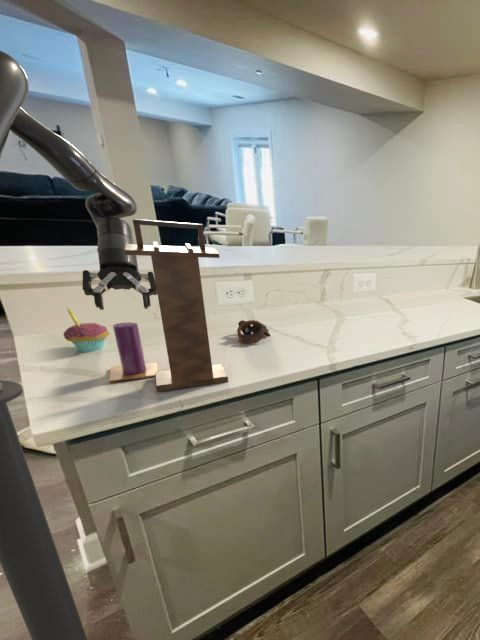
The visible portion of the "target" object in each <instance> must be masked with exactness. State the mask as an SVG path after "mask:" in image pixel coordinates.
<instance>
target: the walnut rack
mask: <svg viewBox="0 0 480 640" xmlns="http://www.w3.org/2000/svg"><path fill="white" fill-rule="evenodd" d="M132 224H133V229H134V235H135V241H136V244H135V243H134V244H125V249H124V251H125V255H136V256H144V257H145V256H146V257H147V256H149V257H150V258H151V264H152V269H153V270H152V271H153V274H154V278H155V282H156V288H157V297H158V298H157V299H158V304H159V305H158V306H159V311H160V312H159V313H160V318H161V322H162V328H163V334H164V339H165V347H166V352H167V358H168V364H169V369H166V370H158V371H157V372H155V377H154V378H155V386H156V391H157V392H163V391H171V390H179V389H184V388H185V389H186V388H193V387H201V386H208V385H214V384H223V383H228V382H229V376H228V374H227V372H226V370H225V367H224V365H223V363H220V364H213V363H212V355H211V347H210V339H209V331H208V323H207V316H206V308H205V301H204V300H205V299H204V293H203V285H202V276H201V270H200V261H199V258H206V259H207V258H209V259H210V258H212V259H220V258H221V257H220V253H219V252H218V251H217V249H215V248H214V247H206V241H205V233H204V225H203V223H193V222H192V223H191V222H178V221H166V220H164V221H163V220H151V219H139V218H138V219H137V218H132ZM141 226H150V227H151V226H154V227H164V228H165V227H166V228H180V229H195V230H197V234H198V235H197V236H198V237H197V238H198V245H199V247H198V246H191V244H190V243H187V242H185V243H184V245H185V246H180V245H179V246H178V245H177V246H176V245H159V243H158V241H152V244H144V241H143V235H142V229H141Z"/></svg>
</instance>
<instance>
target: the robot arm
mask: <svg viewBox="0 0 480 640" xmlns="http://www.w3.org/2000/svg"><path fill="white" fill-rule="evenodd" d="M29 89H30V84H29V79H28V76H27V74H26V72H25V69H23V67H22V66H21V64H20V63H19V61H17V60H16V59H15V58H14V57H12V56H11V55H10V54H9V53H6V52H5V51H3V50H0V158H1V157H2V154H3V151H4V149H5V146H6V143H7V140H8V137H9V135H10V132H12V133H13V134H14V135H16V136H17V138H19V139H20V140H22V141H23V142H24V143H26V144H27V145H28V146H29V147H30V148H31V149H33V151H35V152H36V153H37V154H38V155H40V156H41V157H42V158H43V159H44V160H45V161H46V162H47V163H48V164H49V165H51V167H52V168H53V169H54V170H55V171H56V172H58V174H60V176H62V177H63V179H64V180H65V181H67V182H68V183H69V184H70V185H71V186H72V187H73V188H74V189H76V190H78V191H80V192H81V191H82V192H95V193H93V194H90V195H89V196H87V198H86V199H85V208H86V210H87V212H88V213H89V215H90V216H91V219H92V221H93V222H94V225H95V227H96V233H97V250H96V251H97V255H98V262H99V263H98V265H99V271H98V272H90V271H89V270H88V269H85V270H83V271H82V290H83V293H84V295H85V296H92V297H93V299H94V306H95V307H96V308H97V309H98V308H99V311H103V310H105V306H104V297H103V296H104V294H106V293H108V292H109V291H110V290H111V289H113V290H131V289H133V290H134V291H135V292H137V293H139V294H141V296H142V303H143V308H144V310H145V309H147V310H148V309H149V307H151V305H152V303H151V296H158V294H157V288H156V282H155V276H154V271H148V272H147V273H141V272H140V271H139V265H138V257H137V255H125V251H124V249H125V244H135V243H134V238H133V237H134V236H133V231H132V228H131V225H130V224H129V222H127V221H125V220H124V219H123V218H127V217H132V216H134V215H135V214H136V213H137V212H138V206H137V203H136V201H135V199H134V198H133V197H132V196H131V195H130V194H129V192H127V191H126V190H125V189H123V188H122V187H121V186H119V185H118V184H116V183H115V182H113V181H112V180H111V179H110V178H108V177H106V176H105V175H104V174H102V173H101V172H100V171H99V170H98V169H97V168H96V167H95V166H94V164H92V163H91V162H90V160H89V159H88V158H87V157H86V156H85V155H84V154H83V153H82V152H81V151H80V150H78V149H77V148H76V147H75V146H74V145H73V144H71V143H70V142H69V141H68V140H66V139H64V138H63V137H62V136H61V135H59V134H57V133H55V132H54V131H52V130H51V129H49V128H48V127H47V126H45V125H43V123H41V122H39V121H38V120H37V119H35V118H34V117H33V116H31V115H30V114H29V113H27V112H26V111H25V110H24V109H23V108H22V107H23V105H24V103H25V101H26V100H27V97H28V95H29V91H30V90H29ZM96 192H97V193H96ZM96 279H99V280H100V282H99V283H98V285H96V286H95V287H93V288H92V282H93V283H94V282H95V281H96ZM142 279H143V280H144V281H145V282H147V283H148V284H149V287H150V288H147V287H146V286H144V285H143V283H142V282H140V281H142ZM2 391H3V387H2V384H0V392H2Z"/></svg>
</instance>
